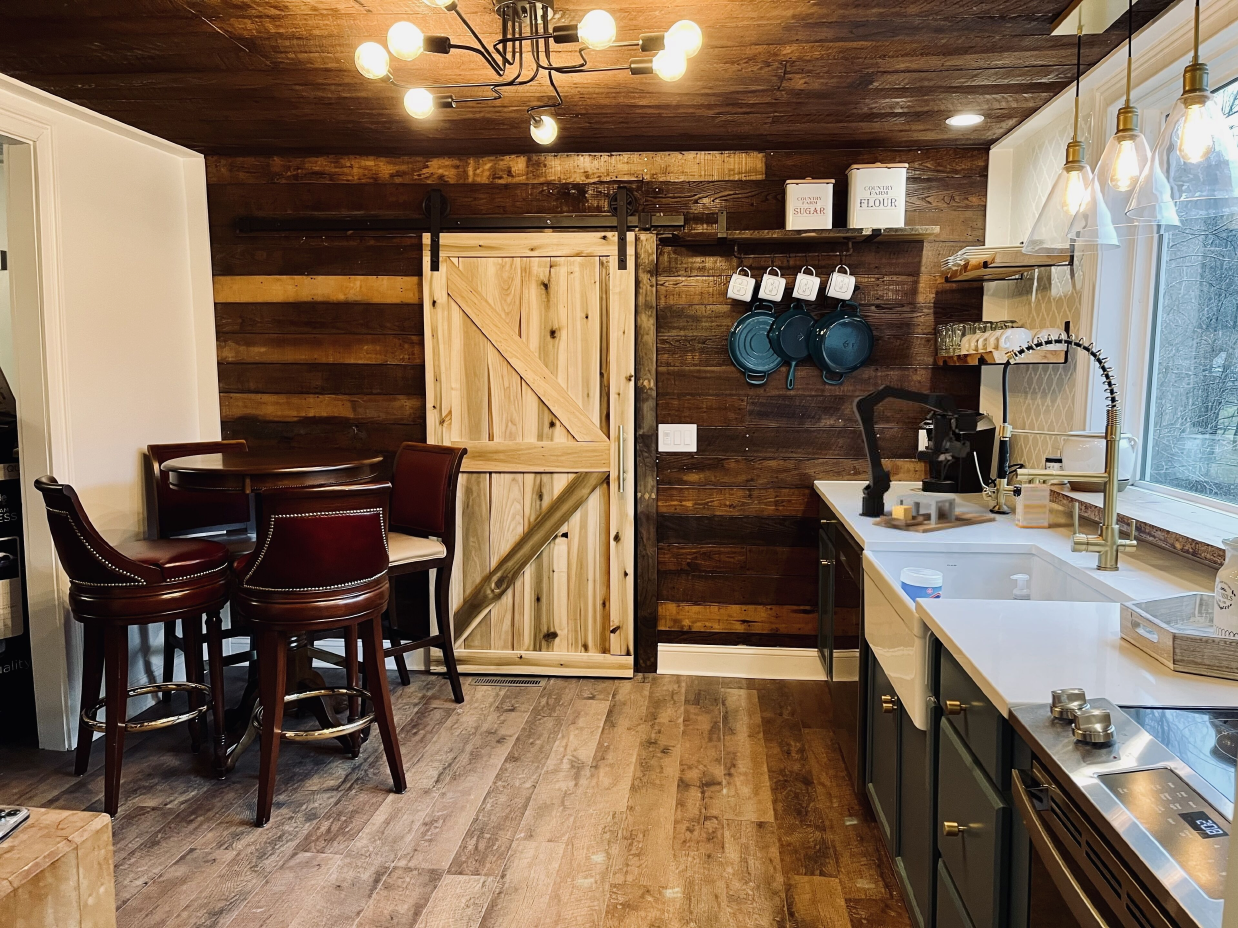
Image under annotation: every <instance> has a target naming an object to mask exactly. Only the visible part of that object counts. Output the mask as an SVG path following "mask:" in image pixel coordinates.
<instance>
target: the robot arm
mask: <svg viewBox="0 0 1238 928" xmlns="http://www.w3.org/2000/svg"><path fill="white" fill-rule="evenodd" d="M888 398H890V399H895V400H899V401H905V402H908V403H914V404H919V405H922V406H924V407H928V408H929V409H932V410H931V412H930V413H929V414H928V415H927V416H926V418H927V419H932V434H931V435H929V439H930V440H932V444H931V445H932V447H929V449H923V450H922V449H921V450H918V451H917V452H916V457H915V458H916V460H925V461H927V462H929V464H930V466H931V467H932V470H933V472H934V474H935V476H936V478H937V480H938V481H944V477H945V475H946V472H947V469H948V467H949V465H950V464H951V463H953V462H954V461H956V459H955V458H952V457H957V458H961V459H962V458H966V457H967V456H966V455H967V453H968V452H971V449H970V448H971V447H970V446H971V444H970V442H969V441H967V440H963V441H956V437H955V435H952V433H953V432H952V430H953V431H954V430H955V432H956V433H959V434H960V433H962V434H963V433H967V434H968V433H971V434H973V433H974V434H975V433H976V432H977V430H978V427H979V426H978V420H977V419H978V418H977V416H976V415H977V413H976V412H975V411H960V410H959V409H958V407H957V406H956V404H955V398H954V397H953V396H952V395H950V394H947V393H929V392H928V393H924V392H920V391H915V390H910V389H905V388H900V387H895V386H891V385H888V384H883V385H881V386H880V387H879V388H877V389H875V390H874V391H872V392H870V393H868V394H867V395H865V396H859V397H857V398H855V399H854V400H853V401H852V408H853V412H854V414H855V416H856V418H857V420H858V423H859V424H860V428H861V432H862V438H863V442H864V446H865V447H864V448H865V452H866V456H867V461H868V465H869V466H868V467H869V468H868V483H867V484H866V485H865V486H863V488H862V489H861V493H862V494H863V495H862V497H861V498H862V499H861V500H862V501H861V503H862V504H861V512H860V513H858V515H859V516H863V517H869V518H880V516H887V513H885V502H884V500H885V497H884V496H885V495H886V493H888V492H889V491H890V489H891V483H893V481H892V479H891V471H890V469H888V468H885V467H884V466H883V463H882V458H881V453H880V448H879V444H878V438H877V434H876V429H875V424H874V422H875V407H877V406H878V405H880V404H881V403H882V402H883V401H885V400H886V399H888ZM933 410H935V411H937V412H942V413H937V412H935V411H933ZM947 415H952V416H947Z"/></svg>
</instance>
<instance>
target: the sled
mask: <svg viewBox="0 0 1238 928" xmlns="http://www.w3.org/2000/svg"><path fill="white" fill-rule="evenodd" d="M940 496H941V497H944V496H942V495H940ZM948 497H949V496H948ZM949 498H952V497H951V496H950V497H949ZM948 504H949V502H948V503H941V504H938V518H939V517H948ZM926 519H931V515H924V516H914V515H913V514H912V520H908V521H907V520H906V519H900V518H893V517H892V516H887V515H886V516H880V517H879V520H880V522H885V523H891V524H897V525H903V526H907V525H913V524H920V523H924V520H926Z"/></svg>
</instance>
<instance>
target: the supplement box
mask: <svg viewBox="0 0 1238 928" xmlns="http://www.w3.org/2000/svg"><path fill="white" fill-rule="evenodd" d="M1021 484H1022V493H1021V495H1020V496H1018V497H1017V496H1016V497H1015V498H1016V502H1015V506H1016V507H1015V526H1016V527H1018V528H1020V529H1049V519H1050V494H1051V493H1050V491H1051V489H1050V488H1051V486H1050V485H1047V484H1046V483H1021Z"/></svg>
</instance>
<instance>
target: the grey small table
mask: <svg viewBox="0 0 1238 928" xmlns="http://www.w3.org/2000/svg"><path fill="white" fill-rule="evenodd" d="M941 496H942V495H933V494H924V493H910V494H900V495H896V505H895V506H899V505H903V506H904V501H909V502H913V504H912V505H913V506H912V515H914V516H919V515H920V514H921V513H920V511H921V509H920V508H921V503H924V504H930V505H931V511H930V512H931V524H932V525H938V504H941V503H948V502H949V504H948V522H955V511H956V497H951V498H949V496H943V497H941Z"/></svg>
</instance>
